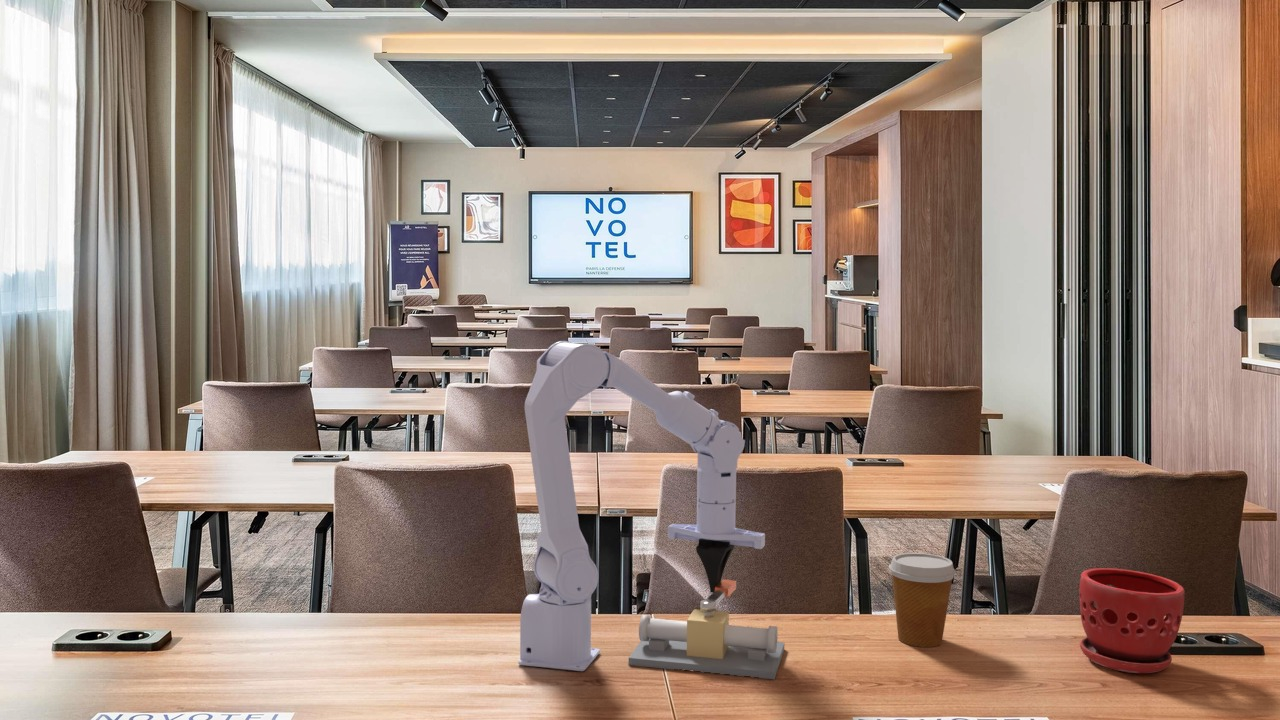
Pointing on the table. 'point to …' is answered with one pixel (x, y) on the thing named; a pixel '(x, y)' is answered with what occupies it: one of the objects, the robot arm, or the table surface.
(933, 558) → the disposable coffee cup
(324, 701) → the table surface
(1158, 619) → the plant pot
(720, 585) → the valve lever
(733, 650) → the valve board
